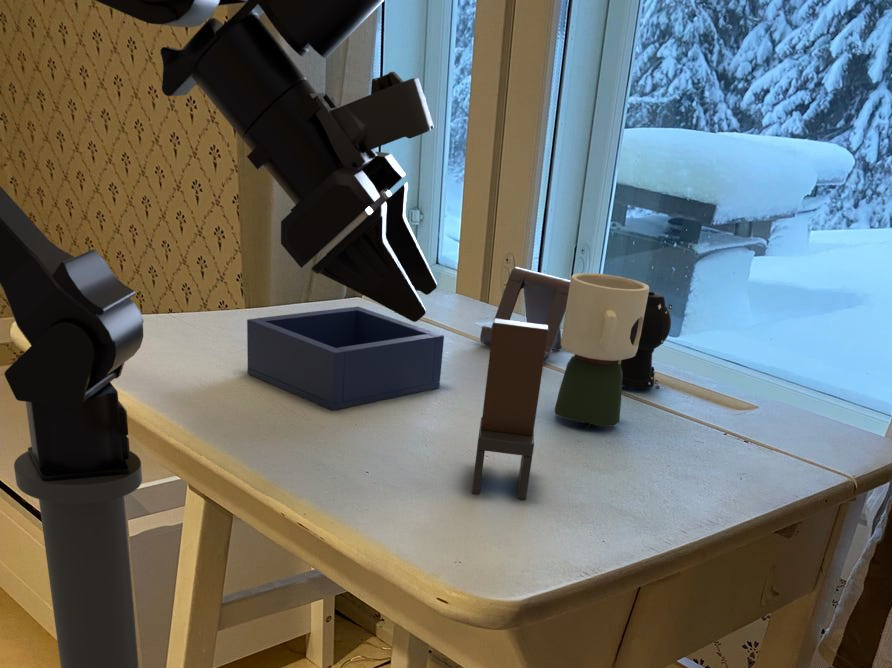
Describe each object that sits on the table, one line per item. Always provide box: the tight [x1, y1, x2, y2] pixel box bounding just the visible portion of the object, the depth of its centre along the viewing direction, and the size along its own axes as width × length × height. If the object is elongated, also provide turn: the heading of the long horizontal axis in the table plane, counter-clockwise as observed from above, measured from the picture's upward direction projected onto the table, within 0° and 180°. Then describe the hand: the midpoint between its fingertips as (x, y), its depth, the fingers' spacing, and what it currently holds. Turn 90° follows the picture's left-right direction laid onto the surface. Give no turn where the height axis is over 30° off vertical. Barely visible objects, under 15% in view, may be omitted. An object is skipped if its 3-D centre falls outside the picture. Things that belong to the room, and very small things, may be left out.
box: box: [246, 306, 445, 411], centre depth 94 cm, size 14×12×5 cm
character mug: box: [554, 272, 650, 428], centre depth 89 cm, size 11×7×13 cm, turn 179°
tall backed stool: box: [471, 318, 548, 500], centre depth 73 cm, size 4×5×12 cm
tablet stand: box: [479, 266, 571, 363], centre depth 112 cm, size 9×8×8 cm
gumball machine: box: [620, 290, 673, 390], centre depth 103 cm, size 7×6×10 cm
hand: (427, 303), depth 69 cm, fingers open, 9 cm apart
